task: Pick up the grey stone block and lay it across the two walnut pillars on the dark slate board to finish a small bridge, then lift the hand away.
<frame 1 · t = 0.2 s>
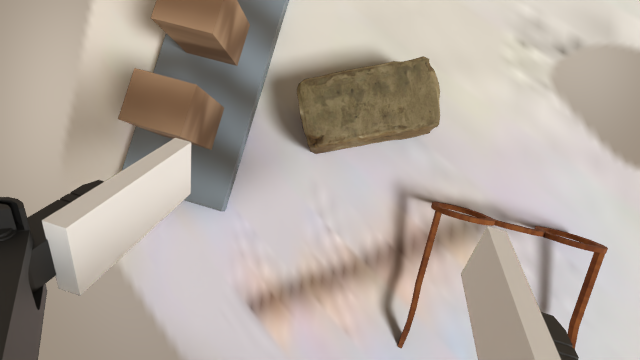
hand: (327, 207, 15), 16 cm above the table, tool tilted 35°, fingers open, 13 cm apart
glasses: (484, 290, 30), on the table
stone block: (366, 116, 32), on the table
bridge base: (209, 83, 33), on the table
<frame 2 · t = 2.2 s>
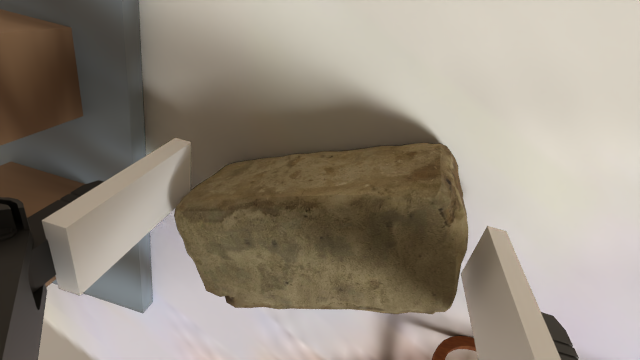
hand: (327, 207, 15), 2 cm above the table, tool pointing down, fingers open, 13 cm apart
stone block: (335, 197, 18), on the table
bridge base: (61, 133, 19), on the table
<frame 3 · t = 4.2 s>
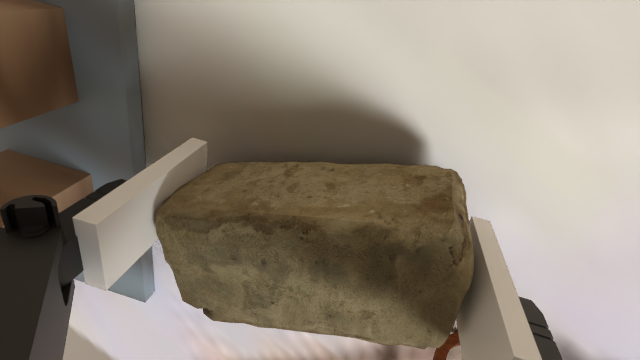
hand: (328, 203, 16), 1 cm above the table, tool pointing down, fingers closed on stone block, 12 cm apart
stone block: (330, 209, 17), point 1 cm above the table, touching gripper
bridge base: (57, 120, 18), on the table
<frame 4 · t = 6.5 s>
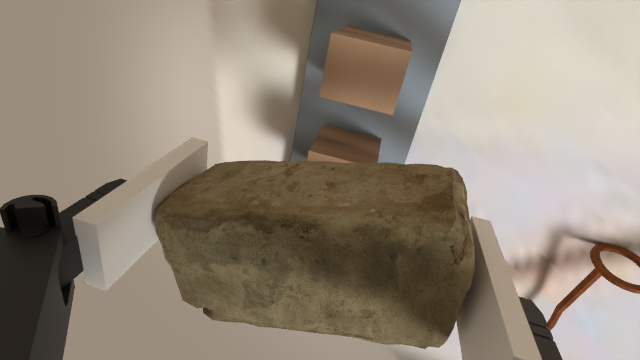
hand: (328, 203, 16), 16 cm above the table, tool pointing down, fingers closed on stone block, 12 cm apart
glasses: (619, 303, 34), on the table
stone block: (330, 208, 16), point 16 cm above the table, touching gripper
bridge base: (360, 106, 30), on the table
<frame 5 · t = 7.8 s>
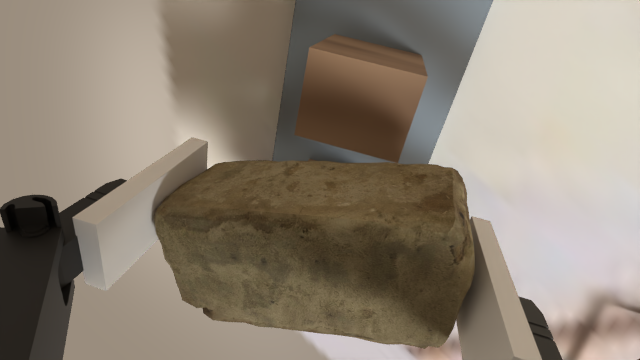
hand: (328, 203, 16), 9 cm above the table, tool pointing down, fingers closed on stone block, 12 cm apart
stone block: (330, 208, 16), point 8 cm above the table, touching gripper
bridge base: (353, 136, 23), on the table
when the fingers open (8 cm above the table, at t = 8.9 s): stone block stays where it is, resting on bridge base.
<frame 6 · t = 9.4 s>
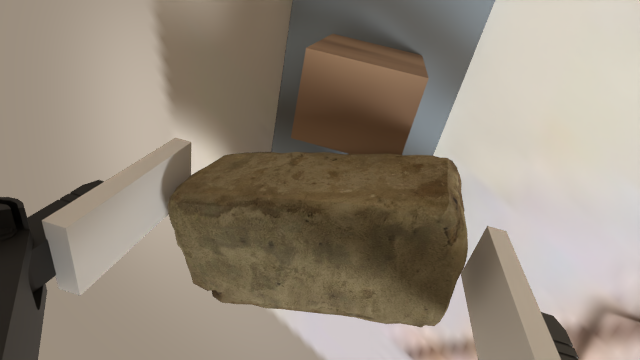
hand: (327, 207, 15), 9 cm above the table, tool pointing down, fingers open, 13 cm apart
stone block: (332, 198, 17), point 7 cm above the table, touching bridge base
bridge base: (352, 137, 23), on the table
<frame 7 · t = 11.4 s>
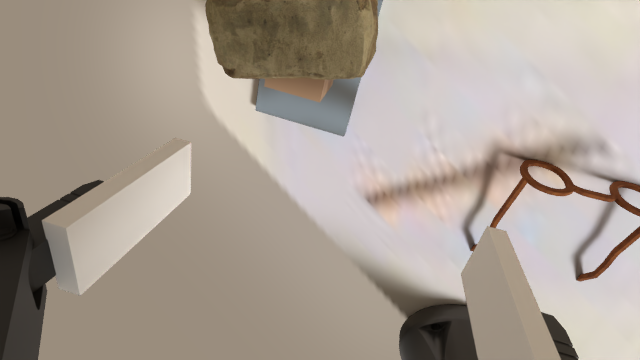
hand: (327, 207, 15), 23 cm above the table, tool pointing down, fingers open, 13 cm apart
glasses: (549, 219, 39), on the table
stone block: (304, 28, 27), point 7 cm above the table, touching bridge base
bridge base: (323, 12, 33), on the table
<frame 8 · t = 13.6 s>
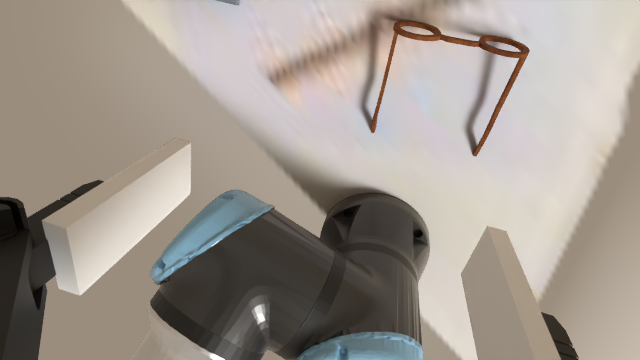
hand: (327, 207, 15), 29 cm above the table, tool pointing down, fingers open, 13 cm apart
glasses: (438, 90, 40), on the table
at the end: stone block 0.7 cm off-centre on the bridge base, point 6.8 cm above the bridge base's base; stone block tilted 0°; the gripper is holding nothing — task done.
